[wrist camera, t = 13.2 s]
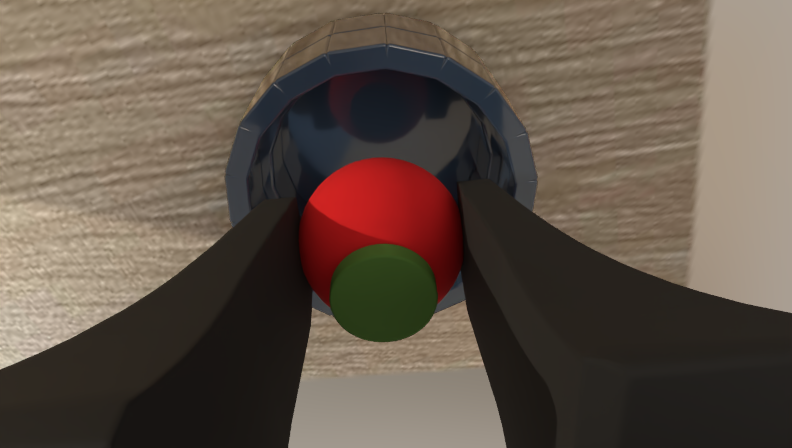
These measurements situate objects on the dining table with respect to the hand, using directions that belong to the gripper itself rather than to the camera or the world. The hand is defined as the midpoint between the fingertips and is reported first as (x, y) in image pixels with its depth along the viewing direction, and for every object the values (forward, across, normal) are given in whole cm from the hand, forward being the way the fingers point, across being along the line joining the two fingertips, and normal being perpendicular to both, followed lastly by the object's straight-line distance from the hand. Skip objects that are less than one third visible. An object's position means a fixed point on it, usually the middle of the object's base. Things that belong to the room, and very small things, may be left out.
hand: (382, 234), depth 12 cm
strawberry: (+1, 0, 0) cm, 1 cm away
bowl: (+5, 0, 0) cm, 5 cm away
